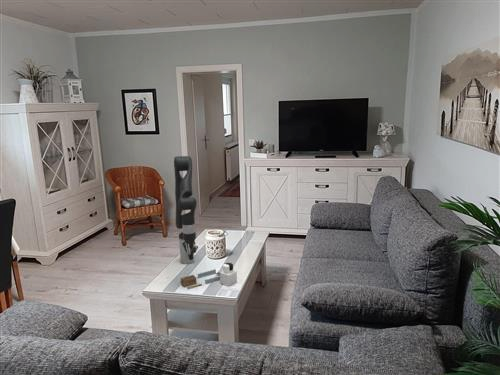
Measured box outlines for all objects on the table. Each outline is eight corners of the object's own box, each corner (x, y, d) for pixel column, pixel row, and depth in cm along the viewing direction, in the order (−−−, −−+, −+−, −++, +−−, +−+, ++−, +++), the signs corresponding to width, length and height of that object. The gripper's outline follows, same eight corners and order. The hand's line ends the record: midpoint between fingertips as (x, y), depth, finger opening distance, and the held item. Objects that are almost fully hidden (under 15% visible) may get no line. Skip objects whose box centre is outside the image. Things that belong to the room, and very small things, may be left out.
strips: (180, 282, 229) (180, 281, 229) (194, 278, 234) (194, 277, 233) (187, 289, 220) (187, 288, 219) (202, 285, 224) (201, 284, 224)
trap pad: (216, 273, 240) (216, 273, 240) (221, 271, 242) (221, 271, 242) (222, 278, 233) (222, 277, 233) (228, 276, 235) (228, 276, 235)
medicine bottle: (228, 279, 231) (227, 260, 229) (237, 282, 227) (236, 263, 224) (220, 283, 226) (219, 264, 224) (229, 286, 221) (228, 267, 219)
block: (181, 285, 226) (180, 278, 225) (193, 281, 230) (193, 274, 229) (184, 287, 222) (183, 280, 221) (196, 284, 226) (196, 277, 225)
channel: (197, 277, 235) (197, 273, 235) (215, 272, 241) (215, 269, 241) (205, 284, 225) (205, 280, 225) (223, 279, 232) (223, 275, 231)
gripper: (201, 232, 219) (203, 260, 222) (187, 227, 228) (189, 255, 231) (190, 235, 214) (192, 264, 217) (177, 230, 223) (179, 258, 226)
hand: (191, 259), depth 224 cm, fingers closed
